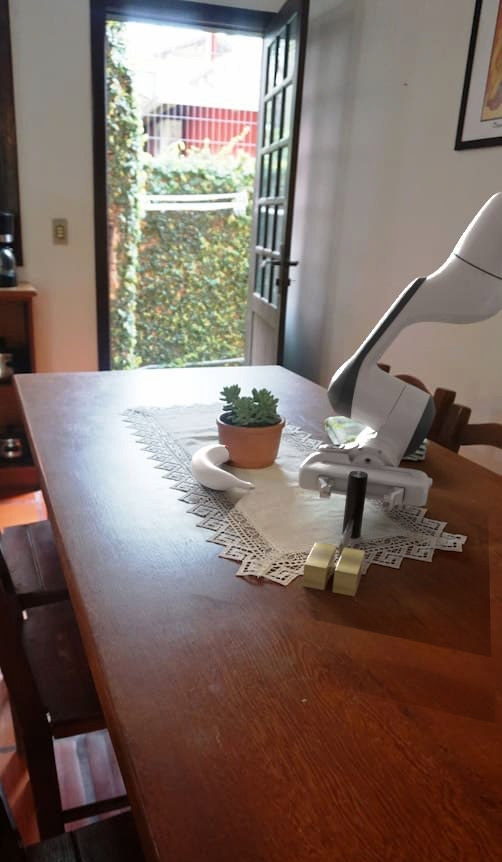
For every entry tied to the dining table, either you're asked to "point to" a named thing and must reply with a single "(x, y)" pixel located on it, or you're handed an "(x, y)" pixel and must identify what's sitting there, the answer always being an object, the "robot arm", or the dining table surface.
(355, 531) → the knife
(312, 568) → the slotted cream block
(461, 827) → the dining table surface
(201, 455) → the banana
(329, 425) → the towel
